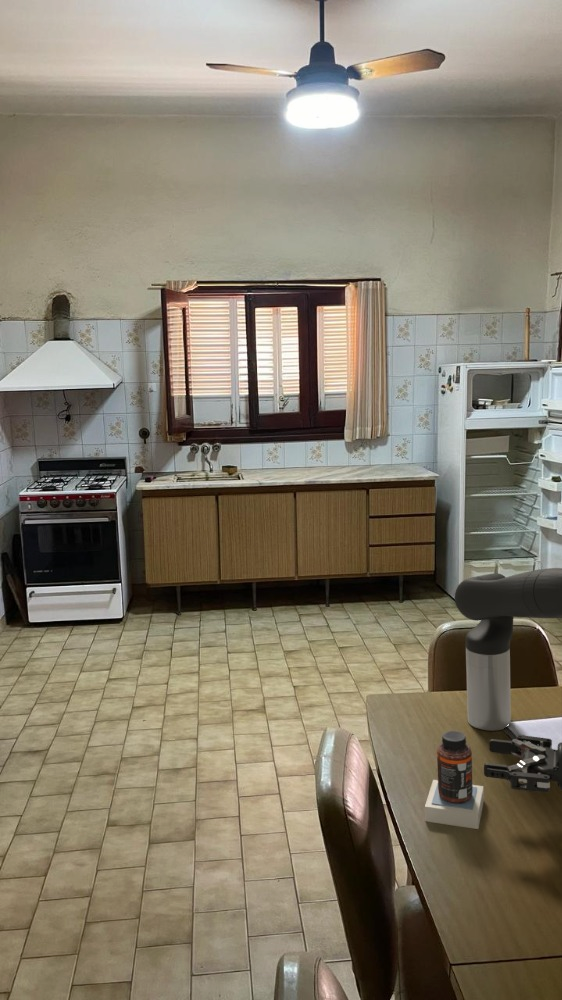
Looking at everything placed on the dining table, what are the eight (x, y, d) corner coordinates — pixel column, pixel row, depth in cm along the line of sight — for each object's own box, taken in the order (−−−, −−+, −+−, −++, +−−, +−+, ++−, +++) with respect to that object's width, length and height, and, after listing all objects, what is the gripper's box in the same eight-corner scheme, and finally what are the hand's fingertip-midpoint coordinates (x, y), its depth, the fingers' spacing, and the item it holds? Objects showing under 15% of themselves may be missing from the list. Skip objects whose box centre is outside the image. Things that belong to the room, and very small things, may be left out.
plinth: (433, 793, 139) (433, 778, 139) (483, 800, 136) (483, 785, 135) (425, 821, 131) (424, 805, 130) (478, 829, 128) (477, 813, 127)
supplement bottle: (473, 805, 129) (472, 744, 127) (438, 803, 131) (436, 743, 129) (472, 786, 135) (470, 728, 133) (438, 785, 136) (436, 727, 134)
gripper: (587, 728, 129) (490, 718, 135) (589, 769, 116) (481, 757, 122) (587, 768, 131) (491, 757, 137) (589, 814, 118) (482, 799, 123)
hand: (486, 757), depth 129 cm, fingers open, 8 cm apart
